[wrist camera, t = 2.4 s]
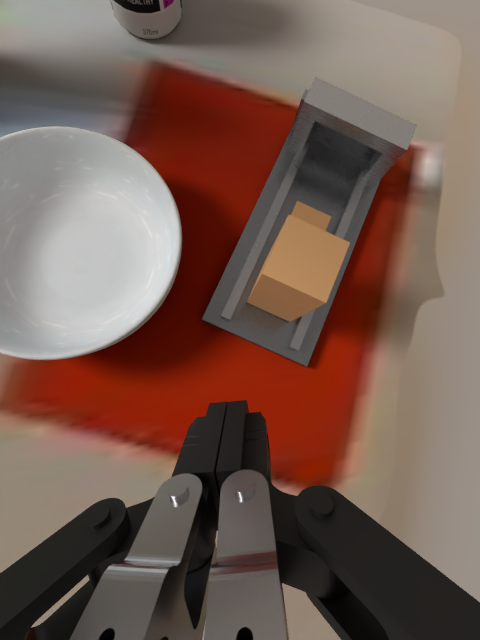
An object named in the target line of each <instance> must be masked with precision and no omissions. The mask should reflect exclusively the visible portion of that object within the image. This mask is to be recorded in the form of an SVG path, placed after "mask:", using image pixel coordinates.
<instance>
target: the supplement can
mask: <svg viewBox="0 0 480 640" xmlns="http://www.w3.org/2000/svg"><path fill="white" fill-rule="evenodd" d="M110 2H111V6H112V9H113V13H114V16H115V18H116V19H117V21H118V22H119V23H120V25H121V26H122V27H124V28H125V29H126V30H128V31H129V32H131V33H132V34H133V35H135V36H138V37H141V38H144V39H157V38H160V37H164V36H166V35H167V34H169V33H170V32H171V31H172V30H173V29H174V28H175V27H176V25H177V24H178V22H179V21H180V19H181V13H182V4H181V0H110Z"/></svg>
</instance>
